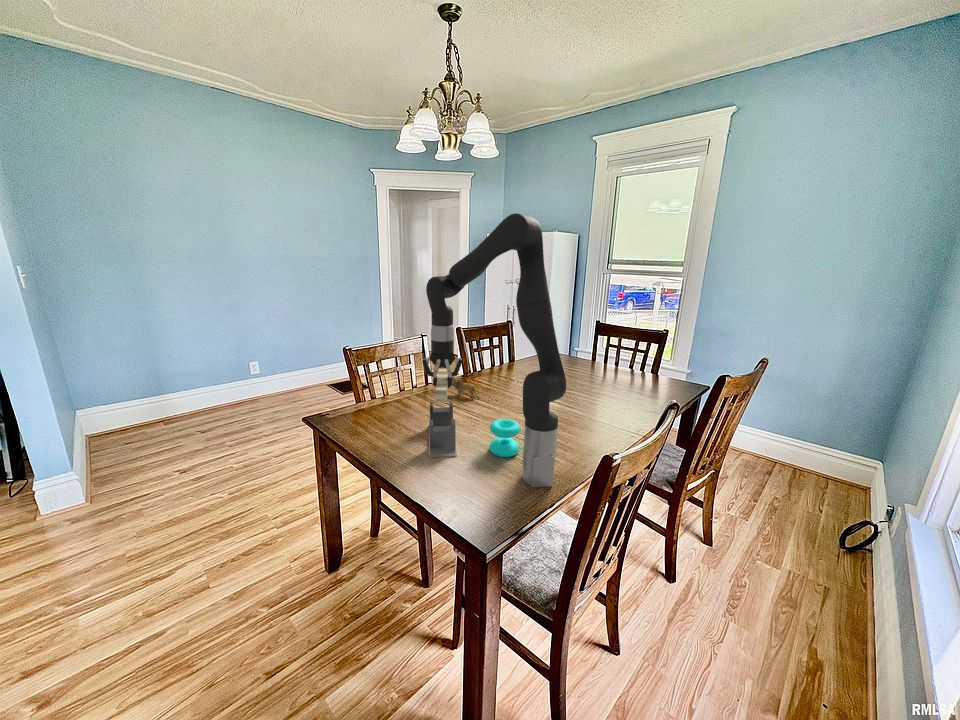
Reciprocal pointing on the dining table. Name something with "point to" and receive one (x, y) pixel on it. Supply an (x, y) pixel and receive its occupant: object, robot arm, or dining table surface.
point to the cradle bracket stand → (442, 432)
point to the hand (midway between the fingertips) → (442, 387)
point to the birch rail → (442, 386)
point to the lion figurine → (463, 387)
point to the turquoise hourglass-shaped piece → (504, 437)
